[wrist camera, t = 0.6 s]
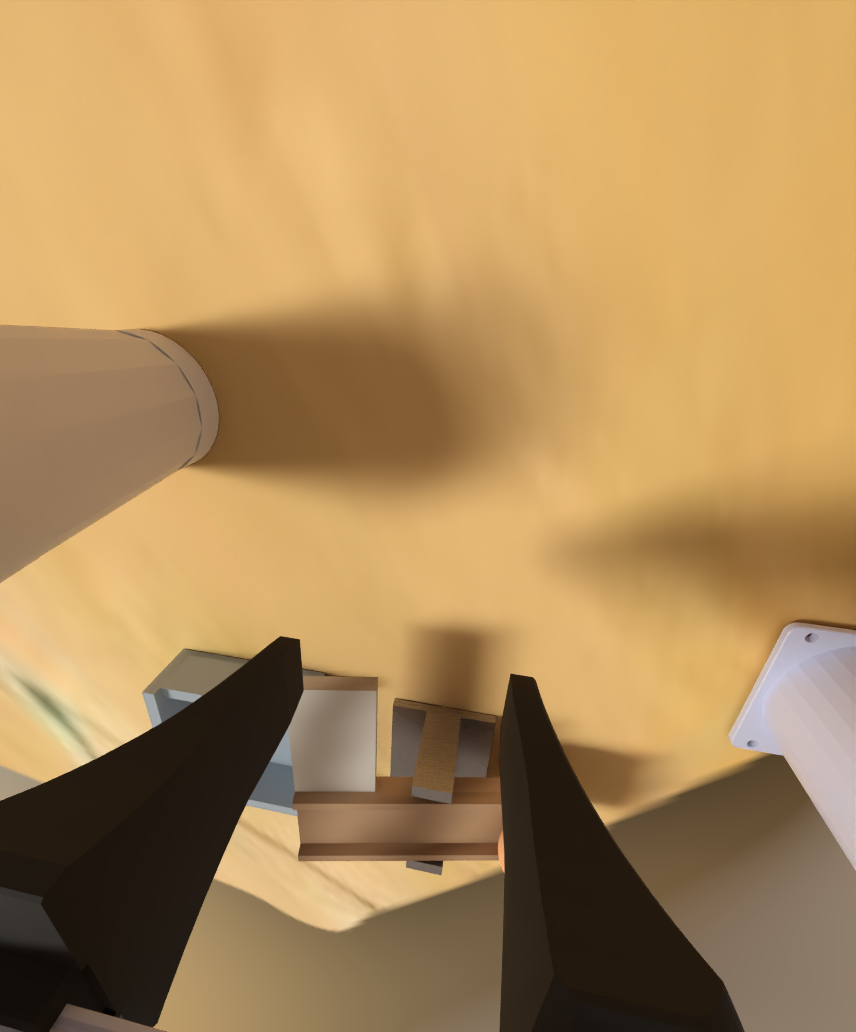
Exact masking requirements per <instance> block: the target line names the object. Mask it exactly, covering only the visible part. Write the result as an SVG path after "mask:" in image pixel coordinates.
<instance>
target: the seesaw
mask: <svg viewBox="0 0 856 1032" xmlns="http://www.w3.org/2000/svg"><path fill="white" fill-rule="evenodd" d="M303 685H304V691H303V694H302V696H301V699H300V701H299V704H298V707H297V709H296V711H295V714H294V716H293V719H292V721H291V723H290V725H289V727H288V733H289V742H290V751H291V760H292V769H293V778H294V788H295V793H294V797H293V802H292V808H293V810H297V815H298V824H299V833H300V843H301V844H300V849H299V854H298V860H299V861H454V860H499V856H498V842H499V838H500V835H501V832H502V831H503V823H502V806H501V788H500V777H454V784H453V793H452V801H451V804H449V803H444V802H439V801H434V800H429V799H424V798H419V797H414V796H411V793H412V783H413V778H414V777H376V752H377V691H378V677H338V676H303Z"/></svg>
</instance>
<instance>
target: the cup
mask: <svg viewBox="0 0 856 1032" xmlns="http://www.w3.org/2000/svg"><path fill="white" fill-rule="evenodd" d="M218 426H219V412H218V405H217V401H216V397H215V394H214V391H213V388H212V386H211V384H210V382H209V380H208V378H207V376H206V374H205V373H204V371H203V370H202V368H201V367H200V365H199V364H198V363H197V362H196V360H195V359H194V358H193V357H192V356H191V355H190V354H189V353H188V352H187V351H186V350H185V349H183V348H182V347H181V346H180V345H178V344H177V343H176V342H174V341H172V340H171V339H169V338H167V337H165V336H163V335H161V334H158V333H155V332H152V331H148V330H141V329H131V330H97V329H77V328H57V327H37V326H17V325H0V583H1V582H2V581H4V580H5V579H7V578H9V577H10V576H12V575H13V574H15V573H16V572H18V571H19V570H21V569H22V568H24V567H26V566H27V565H29V564H30V563H32V562H33V561H35V560H36V559H38V558H39V557H40V556H42V555H43V554H45V553H47V552H48V551H50V550H51V549H53V548H55V547H56V546H58V545H59V544H61V543H63V542H64V541H66V540H67V539H69V538H71V537H72V536H74V535H75V534H77V533H79V532H80V531H82V530H83V529H85V528H87V527H88V526H90V525H91V524H93V523H95V522H96V521H98V520H99V519H101V518H103V517H104V516H106V515H107V514H109V513H111V512H112V511H114V510H115V509H117V508H119V507H120V506H122V505H123V504H125V503H127V502H128V501H130V500H131V499H133V498H135V497H136V496H138V495H139V494H141V493H143V492H144V491H146V490H147V489H149V488H151V487H152V486H154V485H155V484H157V483H159V482H160V481H162V480H163V479H165V478H166V477H168V476H170V475H171V474H173V473H174V472H176V471H178V470H180V469H182V468H184V467H186V466H188V465H190V464H192V463H194V462H196V461H198V460H200V459H201V458H202V457H204V456H205V455H206V454H207V453H208V451H209V450H210V449H211V447H212V445H213V443H214V441H215V439H216V436H217V432H218Z"/></svg>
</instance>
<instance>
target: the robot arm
mask: <svg viewBox="0 0 856 1032" xmlns="http://www.w3.org/2000/svg"><path fill="white" fill-rule="evenodd" d="M811 633H812V634H811ZM808 634H811V635H810V636H808V637H806V636H807V635H808ZM303 691H304V685H303V673H302V661H301V649H300V639H294V638H288V637H282V636H280V637H279V638H277V639H276V640H275V641H273V642H272V643H271V644H270V645H268V646H267V647H266V648H264V649H263V650H262V651H261V652H259V653H258V654H257V655H256V656H254V657H253V658H252V659H251V660H249V661H248V662H247V663H246V664H244V665H243V666H242V667H240V668H239V669H238V670H237V671H235V672H234V673H233V674H231V675H230V676H229V677H227V678H226V679H225V680H223V681H222V682H221V683H219V684H218V685H217V686H215V687H214V688H213V689H211V690H210V691H208V692H207V693H206V694H204V695H203V696H201V697H200V698H198V699H197V700H196V701H194V702H193V703H191V704H190V705H188V706H187V707H186V708H184V709H183V710H181V711H179V712H178V713H176V714H175V715H173V716H172V717H170V718H169V719H167V720H165V721H164V722H162V723H160V724H159V725H157V726H155V727H154V728H152V729H150V730H149V731H147V732H145V733H144V734H142V735H140V736H138V737H137V738H135V739H133V740H131V741H129V742H127V743H125V744H123V745H121V746H120V747H118V748H116V749H114V750H112V751H110V752H108V753H106V754H105V755H103V756H101V757H99V758H97V759H95V760H93V761H91V762H89V763H87V764H85V765H82V766H80V767H78V768H76V769H74V770H72V771H70V772H68V773H65V774H63V775H61V776H59V777H57V778H54V779H52V780H50V781H48V782H45V783H43V784H41V785H38V786H36V787H34V788H31V789H29V790H26V791H24V792H22V793H19V794H16V795H14V796H11V797H9V798H6V799H4V800H1V801H0V1032H166V1031H163V1030H159V1029H155V1028H153V1027H154V1026H155V1025H156V1024H157V1023H158V1019H159V1017H160V1014H161V1011H162V1009H163V1006H164V1003H165V1000H166V998H167V995H168V992H169V990H170V987H171V984H172V982H173V979H174V976H175V973H176V971H177V968H178V966H179V963H180V960H181V957H182V955H183V952H184V950H185V947H186V944H187V942H188V939H189V937H190V934H191V932H192V929H193V927H194V924H195V922H196V919H197V916H198V914H199V912H200V909H201V907H202V904H203V902H204V899H205V897H206V894H207V892H208V890H209V887H210V885H211V883H212V880H213V878H214V875H215V873H216V871H217V868H218V866H219V864H220V861H221V859H222V856H223V854H224V852H225V850H226V847H227V845H228V843H229V841H230V838H231V836H232V834H233V832H234V829H235V827H236V825H237V823H238V820H239V818H240V816H241V814H242V812H243V810H244V808H245V806H246V804H247V802H248V800H249V798H250V796H251V795H252V793H253V791H254V789H255V787H256V786H257V784H258V782H259V780H260V778H261V777H262V775H263V773H264V771H265V769H266V767H267V766H268V764H269V762H270V760H271V758H272V757H273V755H274V753H275V751H276V749H277V748H278V746H279V744H280V742H281V740H282V738H283V737H284V735H285V733H286V731H287V729H288V727H289V725H290V723H291V721H292V719H293V716H294V714H295V711H296V709H297V707H298V704H299V701H300V699H301V696H302V694H303ZM728 737H729V740H730V742H731V743H732V745H733V746H735V747H738V748H743V749H748V750H754V751H760V752H766V753H772V754H778V755H783V756H784V757H785V759H786V760H787V762H788V763H789V765H790V767H791V768H792V770H793V771H794V773H795V775H796V776H797V778H798V779H799V781H800V783H801V784H802V786H803V787H804V789H805V791H806V792H807V794H808V795H809V797H810V799H811V800H812V802H813V803H814V805H815V806H816V808H817V810H818V811H819V813H820V814H821V816H822V818H823V819H824V821H825V822H826V824H827V826H828V827H829V829H830V830H831V832H832V833H833V835H834V837H835V838H836V840H837V842H838V843H839V845H840V846H841V848H842V849H843V851H844V853H845V854H846V856H847V858H848V859H849V861H850V862H851V864H852V866H853V867H854V869H855V870H856V630H850V629H843V628H836V627H828V626H821V625H814V624H807V623H791V624H789V625H787V626H786V627H785V628H784V629H783V631H782V633H781V635H780V637H779V639H778V641H777V643H776V644H775V646H774V648H773V650H772V652H771V654H770V656H769V658H768V660H767V662H766V664H765V666H764V668H763V670H762V671H761V673H760V675H759V677H758V679H757V681H756V683H755V685H754V687H753V689H752V691H751V693H750V695H749V697H748V699H747V700H746V702H745V704H744V706H743V708H742V710H741V712H740V714H739V716H738V718H737V720H736V722H735V724H734V726H733V728H732V729H731V731H730V733H729V736H728ZM499 769H500V788H501V806H502V823H503V841H504V869H505V878H504V920H503V953H502V954H503V955H502V984H501V1010H500V1032H744V1029H743V1027H742V1024H741V1022H740V1019H739V1017H738V1015H737V1012H736V1010H735V1008H734V1005H733V1003H732V1001H731V998H730V996H729V994H728V991H727V989H726V987H725V985H724V983H723V981H722V980H721V979H720V978H719V976H717V974H716V973H715V972H714V971H713V969H712V968H711V967H710V966H709V965H708V964H707V962H706V961H705V960H704V959H703V958H702V957H701V955H700V954H699V953H698V952H697V951H696V949H695V948H694V947H693V946H692V944H691V943H690V942H689V941H688V939H687V938H686V937H685V936H684V935H683V933H682V932H681V931H680V930H679V928H678V927H677V926H676V925H675V923H674V922H673V921H672V919H671V918H670V917H669V916H668V914H667V913H666V912H665V910H664V909H663V908H662V907H661V905H660V904H659V903H658V901H657V900H656V899H655V897H654V896H653V895H652V893H651V892H650V891H649V889H648V888H647V887H646V885H645V884H644V882H643V881H642V879H641V878H640V877H639V875H638V874H637V872H636V871H635V870H634V868H633V867H632V865H631V864H630V863H629V861H628V860H627V858H626V857H625V856H624V854H623V853H622V851H621V850H620V848H619V847H618V845H617V844H616V842H615V841H614V839H613V837H612V836H611V834H610V833H609V831H608V830H607V828H606V827H605V825H604V823H603V822H602V820H601V819H600V817H599V815H598V814H597V812H596V810H595V809H594V807H593V805H592V804H591V802H590V800H589V798H588V797H587V795H586V793H585V791H584V789H583V788H582V786H581V784H580V782H579V780H578V778H577V776H576V775H575V773H574V771H573V769H572V767H571V765H570V763H569V761H568V759H567V757H566V755H565V753H564V751H563V748H562V746H561V744H560V742H559V740H558V738H557V735H556V733H555V731H554V729H553V726H552V724H551V722H550V719H549V717H548V714H547V712H546V709H545V707H544V704H543V701H542V698H541V696H540V693H539V690H538V686H537V683H536V681H535V679H534V678H533V677H528V676H521V675H515V674H510V680H509V685H508V690H507V695H506V701H505V706H504V711H503V716H502V722H501V733H500V756H499Z"/></svg>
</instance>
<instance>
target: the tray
mask: <svg viewBox="0 0 856 1032" xmlns="http://www.w3.org/2000/svg"><path fill="white" fill-rule="evenodd" d="M248 661H249V660H246V659H240V658H235V657H229V656H223V655H217V654H211V653H205V652H199V651H194V650H188V649H183V650H182V651H181V652H180V653H179V654H178V655H177V656H176V657H175V658H174V660H173V661H172V662H171V663H170V664H169V665H168V666H167V667H166V668H165V669H164V670H163V671H162V672H161V673H160V674H159V675H158V676H157V677H156V678H155V679H154V681H153V682H152V683H151V684H150V685H149V686H148V687H147V688H146V689H145V690H144V691H143V692H142V694H143V697H144V700H145V704H146V707H147V710H148V714H149V717H150V720H151V724H152V727H153V728H154V727H155V726H157V725H159V724H160V723H162V722H164V721H165V720H167V719H169V718H170V717H172V716H173V715H175V714H176V713H178V712H179V711H181V710H183V709H184V708H186V707H187V706H188V705H190V704H191V703H193V702H194V701H196V700H197V699H198V698H200V697H201V696H203V695H204V694H206V693H207V692H208V691H210V690H211V689H213V688H214V687H215V686H217V685H218V684H219V683H221V682H222V681H223V680H225V679H226V678H227V677H229V676H230V675H231V674H233V673H234V672H235V671H237V670H238V669H239V668H240V667H242V666H243V665H244V664H246V663H247V662H248ZM302 673H303V676H325V673H322V672H317V671H311V670H305V669H302ZM294 793H295V788H294V778H293V769H292V760H291V751H290V742H289V733H288V729H287V731H286V733H285V735H284V737H283V738H282V740H281V742H280V744H279V746H278V748H277V749H276V751H275V753H274V755H273V757H272V758H271V760H270V762H269V764H268V766H267V767H266V769H265V771H264V773H263V775H262V777H261V778H260V780H259V782H258V784H257V786H256V787H255V789H254V791H253V793H252V795H251V796H250V798H249V800H248V802H247V804H246V805H247V806H251V807H256V808H261V809H266V810H270V811H275V812H280V813H284V814H289V815H294V816H298V815H297V810H293V808H292V802H293V797H294Z"/></svg>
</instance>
